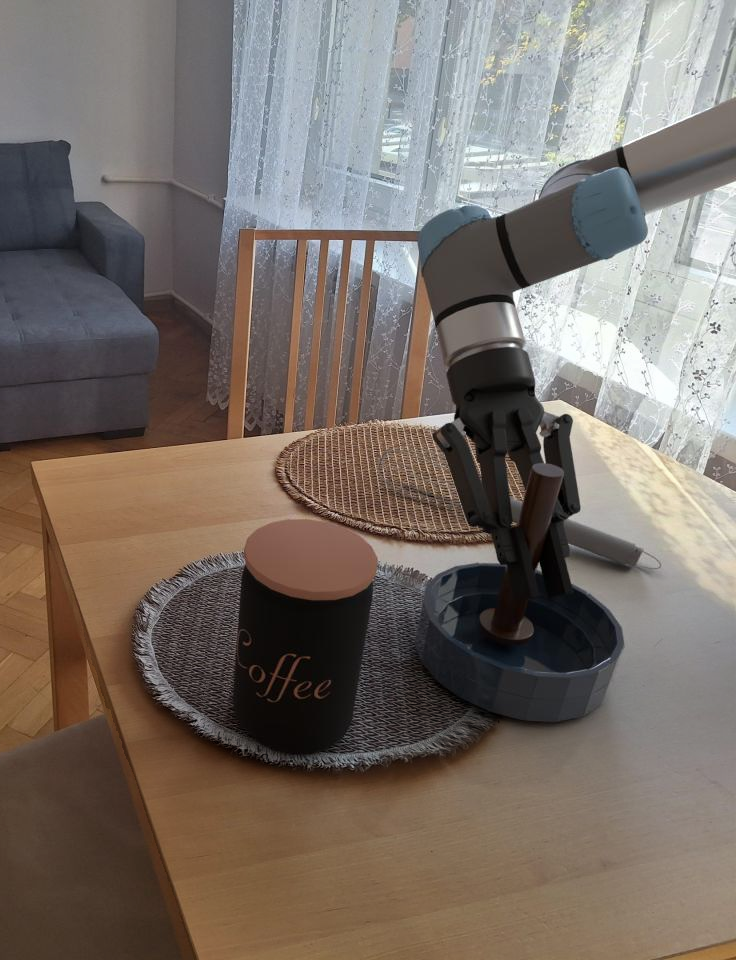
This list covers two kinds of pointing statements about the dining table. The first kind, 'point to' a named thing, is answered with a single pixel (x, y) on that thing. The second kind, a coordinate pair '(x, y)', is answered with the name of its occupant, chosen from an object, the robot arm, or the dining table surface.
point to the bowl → (518, 647)
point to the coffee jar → (301, 633)
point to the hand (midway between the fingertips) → (543, 596)
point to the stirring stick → (535, 519)
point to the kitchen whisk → (574, 531)
